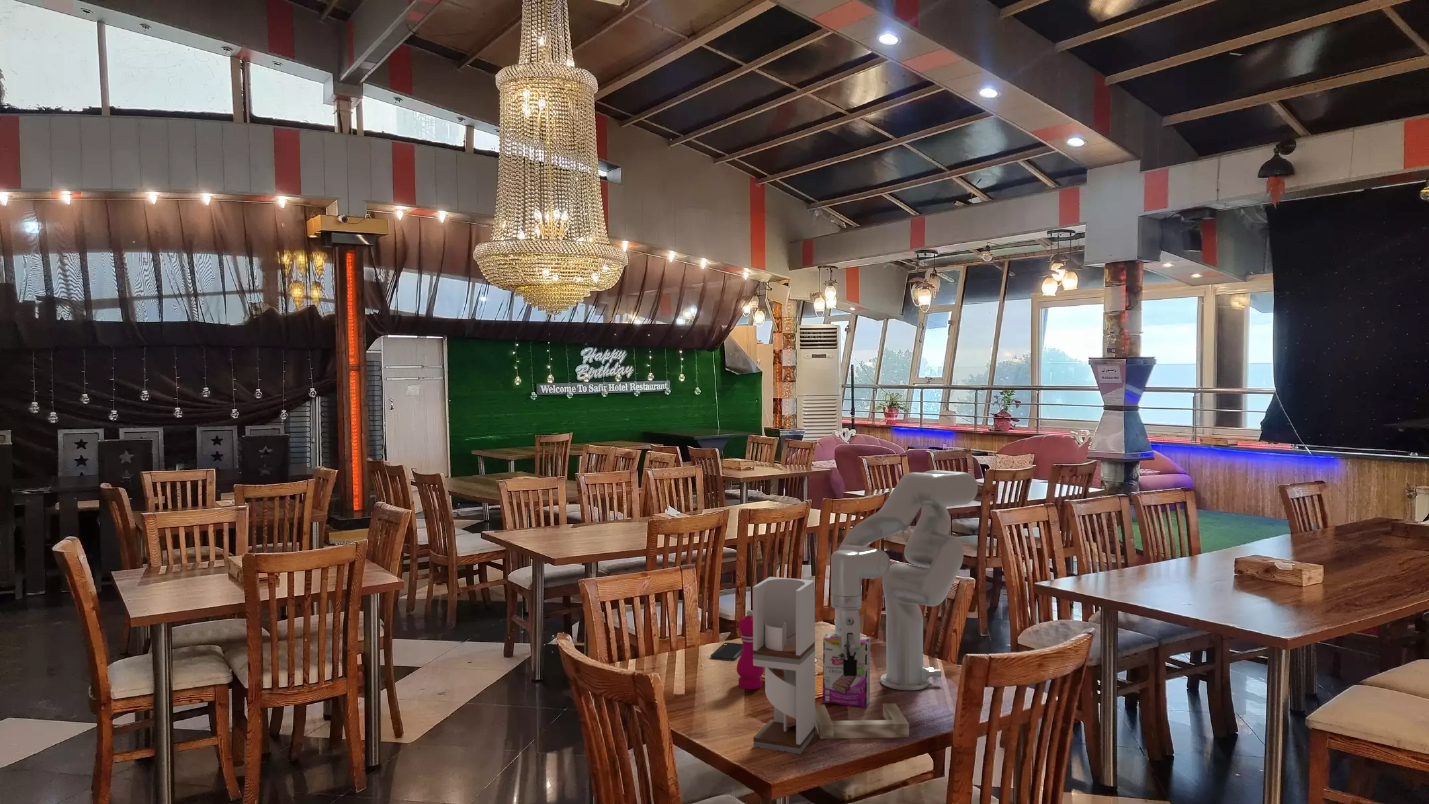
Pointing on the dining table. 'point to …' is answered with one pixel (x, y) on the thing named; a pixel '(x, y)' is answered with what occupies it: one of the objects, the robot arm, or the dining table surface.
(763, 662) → the white spiral tower
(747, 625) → the pepper mill
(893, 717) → the notched board
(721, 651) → the phone
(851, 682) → the candy bar box
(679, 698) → the dining table surface
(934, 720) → the dining table surface
